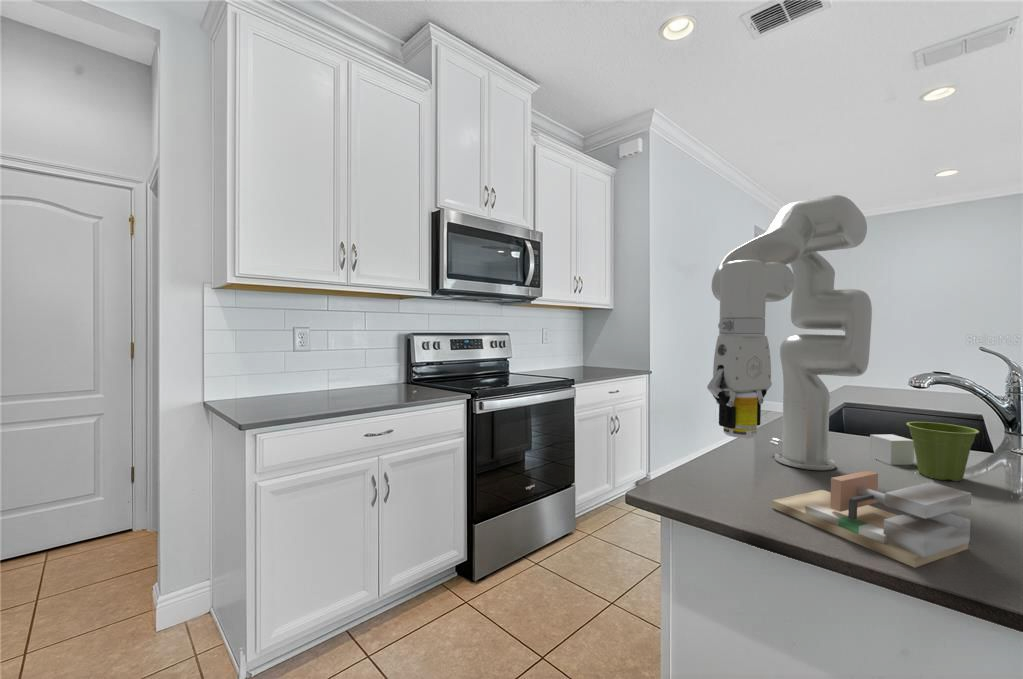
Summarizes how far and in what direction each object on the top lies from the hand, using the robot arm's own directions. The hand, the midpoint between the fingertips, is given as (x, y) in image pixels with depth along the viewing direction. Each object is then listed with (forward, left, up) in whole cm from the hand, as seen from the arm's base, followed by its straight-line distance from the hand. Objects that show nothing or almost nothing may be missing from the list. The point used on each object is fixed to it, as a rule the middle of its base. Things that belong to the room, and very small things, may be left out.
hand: (739, 424), depth 84 cm
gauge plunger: (+19, +12, -13) cm, 26 cm away
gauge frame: (+14, +13, -16) cm, 24 cm away
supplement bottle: (0, 0, -2) cm, 2 cm away
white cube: (-6, +60, -16) cm, 62 cm away
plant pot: (+5, +57, -16) cm, 59 cm away
